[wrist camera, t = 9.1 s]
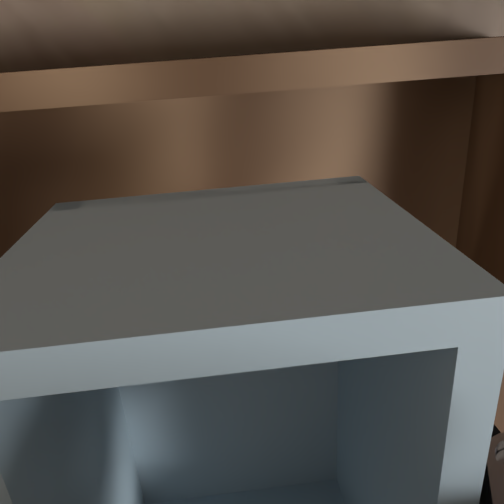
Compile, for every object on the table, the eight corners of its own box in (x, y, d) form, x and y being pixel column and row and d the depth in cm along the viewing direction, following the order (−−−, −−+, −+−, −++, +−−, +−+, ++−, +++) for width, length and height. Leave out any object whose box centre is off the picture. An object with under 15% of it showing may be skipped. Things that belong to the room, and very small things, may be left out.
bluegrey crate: (359, 175, 10) (517, 294, 5) (351, 473, 14) (438, 719, 8) (56, 203, 10) (-108, 363, 5) (129, 503, 13) (84, 779, 8)
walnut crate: (491, 36, 14) (589, 30, 11) (445, 390, 20) (499, 465, 16) (-102, 80, 13) (-219, 89, 10) (24, 439, 19) (-19, 531, 15)
